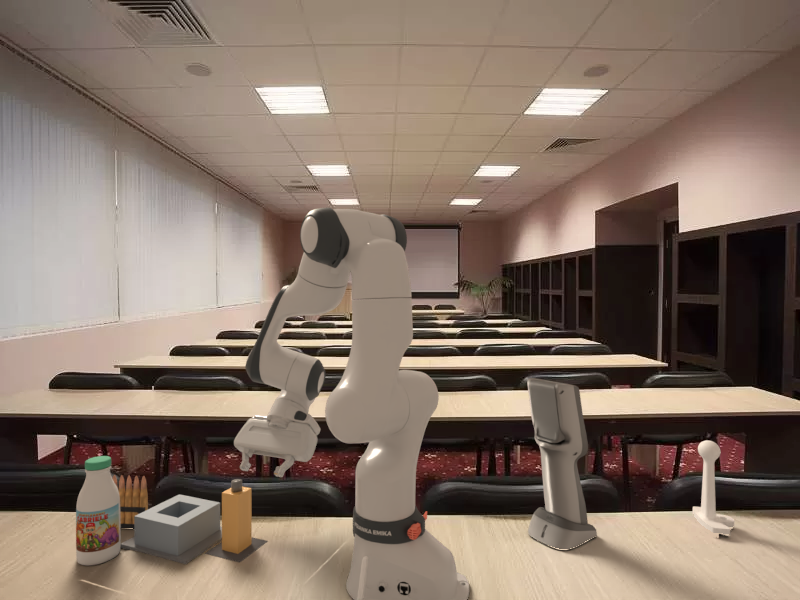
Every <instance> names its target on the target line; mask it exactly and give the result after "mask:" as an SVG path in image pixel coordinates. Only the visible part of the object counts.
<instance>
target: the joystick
mask: <svg viewBox="0 0 800 600" xmlns="http://www.w3.org/2000/svg"><path fill="white" fill-rule="evenodd" d="M697 453H698V454H699V456H700V457H701V458H702V459H703V466H702V482H701V497H700V499H701V500H700V501H701V503H700V506H692V515H693V514H694V517H695V518H696V519H697V521H698V522H699V523H700V524H701V525H702V526H704V527H705V528H706V529H708V530H710V531H711V532H713V533H723V534H730V535H731V531H730V528H729V527H733V526H734V527H735V519H734V518H733V517H731V516H729V515H724V514H718V513H716V512H717V511H716V508H717V507H716V481H715V480H716V479H715V462H716V460H717V459H719V457H720V456H721V454H722V453H721V449H720V446H719V445H718V444H717V443H716V442H715V441H713V440H708V439H706V440H703V441H701V442H700V443H699V444H698V446H697Z"/></svg>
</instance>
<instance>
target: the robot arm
mask: <svg viewBox="0 0 800 600" xmlns="http://www.w3.org/2000/svg"><path fill="white" fill-rule="evenodd" d="M300 226H301V227H300V231H299V232H300V233H299V239H300V240H299V241H300V245H301V249H302V251H303V254H302V256H301V260H300V264H299V266H298V271H297V275H296V277H295V280H294V281H293V282H292V283H291V284H287V285H284V286H283V287H282V288H281V289H280V290H279V291H278V293H277V294H276V296H275V298H274V299H273V302H272V304H271V306H270V307H269V309H268V310H269V311H268V313H267V315H266V317H265V320H264V322H263V324H262V326H261V329H260V332H259V334H258V336H257V339H256V341H255V344H254V346H253V347H252V349H251V351H250V352H249V354H248V356H247V359H246V362H245V366H244V367H245V371H246V373H247V375H248V377H249V379H250V380H251V381H252V382H253V383H258V384H263V385H265V386H266V385H268V386H270V387H272V388H273V387H274V388H277V389H279V390H280V393H279V395H278V396H277V397H276V399H275V400H274V401H273V403H272V405H271V408H270V410H269V412H268V414H267V415H266V416H265V415H254V416H252V417H250V418H248V419H247V421H246V422H245V423H244V425H243V426H242V427H241V428H240V430H239V431H238V433H237V434H236V436H235V438H234V439H233V446H234V447H235V448H236V449H237V450H238V451H239V452H241V456H242V457H241V460H242V461H241V463H240V465H239V469H240V470H241V471H243V472H249V470H250V468H251V466H252V464H251V463H250V458H252V457H253V455H259V456H265V457H272V458H278V459H282V460H283V459H284V462H283V463H282V464H280V465H279V466H277V465H276V467H275V470H274V471H273V475H274V476H275V477H277V478H283V477H284V475H285V472H286V471H287V470H288V469H290V468H291V467H292V466H293V465H294V463H295V461H296V462H297V461H298V462H303V463H307V462H309V461H310V460H311V459H312V458H313V455H314V453H315V450H316V448H317V447H316V446H317V444H318V435H319V434H320V432H321V427H320V425H319V424H318V422H317V421H316V419H315V418H314V417H313V415H311V414H310V413H309V410H310V407H311V406H312V404H313V403H314V402H315V399H316V398H317V397H319V394H320V393H321V390H322V388H323V386H324V383H325V381H326V377H327V375H326V370H325V368H324V364H323V363H322V361H321V360H320V359H319V358H316V357H315V356H312V355H309V354H306V353H304V352H299V351H296V350H294V349H291V348H288V347H284V346H282V345H280V343H279V342H278V339H279V337H280V335H281V332H282V330H283V328H284V325H285V324H286V320H287V319H288V318H292V317H300V316H301V317H302V316H311V317H312V316H320V315H324V314H328V313H329V312H332V311H334V310H335V309H336V308H337V307H338V306H339V305H340V304H341V303H342V301H343V298H344V296H345V293H346V290H347V289H348V283H349V280H350V275H351V311H352V312H351V313H352V315H351V317H352V321H351V323H352V324H351V325H352V327H351V328H352V329H351V330H352V331H351V332H352V333H351V334H352V337H351V347H350V351H349V355H348V361H347V363H346V367H345V368H344V371H343V373H342V374H343V375H342V376H341V378H340V381H339V382H338V384H337V385H336V387H335V388H334V389H333V390H332V392H330V394H329V395H328V397H327V400H326V403H325V409H324V413H325V414H324V416H325V421H326V424H327V426H328V429H329V431H330V432H331V434H332V435H333V436H334V437H335V439H337V440H338V441H340V442H342V443H345V444H366V443H368V445H367V446H366V447H367V448H366V449H365V451H364V453H363V454H362V456H360V459H358V462H357V464H356V466H355V483H354V484H355V486H354V487H355V494H354V495H355V498H354V499H355V504H354V505H355V506H354V507H353V509H352V514H353V515H352V534H353V538H354V539H353V551H352V558H351V565H350V569H349V573H348V577H347V580H346V583H345V584H346V585H345V586H346V591H347V593H348V595H349V597H351V598H352V600H467V599H468V600H469V598H468V597H470V584H469V580H468V578H467V576H466V575H465V574H462V573H459V572H457V566H456V565H457V564H456V562H455V557H454V555H453V552H452V551H451V550H450V549H449V548H448V547H447V546H445V544H443V543H442V542H440V540H438V538H436V537H435V536H434V535H433V534H432V533H431V532H430V531H428V530H427V528H426V521H427V519H428V511H425V512H424V514H422V513H421V512H420V511H419V510H418V507H417V506H416V481H417V479H416V477H417V474H416V473H417V465H418V459H419V454H420V450H421V446H422V442H423V438H424V435H425V432H426V428H427V426H428V423H429V421H430V419H431V417H432V416H433V414H434V413H435V411H436V409H437V407H438V405H439V398H440V397H439V391H438V387H437V385H436V383H435V381H434V380H433V379H432V377H430V375H428V374H427V373H425V372H423V371H417V370H411V369H400V367H401V363H402V360H403V357H404V355H405V352H406V351H407V349H409V347H410V346H411V344H412V341H413V339H414V337H413V336H414V330H413V329H414V327H413V301H412V300H413V299H412V287H411V286H412V285H411V275H410V269H409V264H408V260H407V256H406V249H407V244H408V241H407V239H408V236H407V230H406V228H405V226H404V224H403V222H401V220H399V219H397V218H395V217H393V216H390V215H388V214H384V213H383V214H378V213H374V212H369V211H362V210H360V209H356V208H355V209H354V208H353V209H352V208H331V207H319V208H314V209H311V210H310V211H308V213H307V214H306V215H305V217H304V219H303V220H302V223H301V225H300Z"/></svg>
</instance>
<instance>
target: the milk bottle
mask: <svg viewBox="0 0 800 600" xmlns="http://www.w3.org/2000/svg"><path fill="white" fill-rule="evenodd" d="M111 468H112V457H111V456H108V455H99V456H93V457H90V458H88V459H86V460H85V461H84V472H85V473H86V474H85V475H86V476H85V480H84V482H83V484H82V487H81V489H80V491H79V494H78V496H77V499H76V500H77V501H76V506H75V507H76V508H75V553H76V554H75V555H76V557H75V558H76V561H77V564H79V565H82V566H96V565H100V564H103V563H107V562H109V561H111V560H113V559H114V558H116V557H117V556H118V555H119V553H120V552H121V548H120V547H121V541H122V539H121V537H122V536H121V535H122V534H121V530H122V529H121V525H120V496H119V487H118V485H117V486H116V484H115V483H114V481H113V479H112V478H113V475H112V474H111ZM117 487H118V488H117Z"/></svg>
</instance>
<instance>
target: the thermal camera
mask: <svg viewBox="0 0 800 600" xmlns="http://www.w3.org/2000/svg"><path fill="white" fill-rule="evenodd" d="M527 391H528V398H529V400H528V401H529V410H530V416H531V421H532V425H533V428H534V429H533V430H534V440H535V442H536V444H537V445H538V446H539V450H540V462H541V474H542V475H541V477H542V486H543V498H544V504H545V505H544V507H541V506H540V507H538V508H537V509H535V511H534V512H533V514H532V516H531V519H530V522H529V525H528V528H527V533H528V536H529V535H530V536H531V537H530V536H529V537H530V538H532V537H533V538H534V539H533V538H532V539H533V540H535V539H536V540H538V541H540V542H542V543H544V544H546V545H549V546H552V547H555V548H559V549H570V548H573V547H576V546H578V545H580V544H582V543H584V542H585V541H587V540H589V539H591V538H593V537H595V536H596V537H597V536H598V533H597V532H598V531H597V528H595V526H594V525H593V524H590V523H589V522H588V521H589V520H588V513H587V507H586V501H585V496H584V491H583V487H582V483H581V479H580V475H579V469H578V461H579V459H581V458H583V457H585V456H586V455H587V453H588V450H589V443H588V436H587V431H586V425H585V419H584V415H583V408H582V407H583V406H582V398H581V393H580V388H579V386H578V385H575V384H569V383H565V382H564V383H563V382H558V381H552V380H545V379H541V378H533V377H532V378H528V379H527ZM536 540H535V541H536ZM538 541H537V542H538ZM540 542H539V543H540ZM542 543H541V544H542ZM544 544H543V545H544ZM584 544H585V543H584ZM546 545H545V546H546ZM582 545H583V544H582ZM580 546H581V545H580ZM578 547H579V546H578ZM576 548H577V547H576Z"/></svg>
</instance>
